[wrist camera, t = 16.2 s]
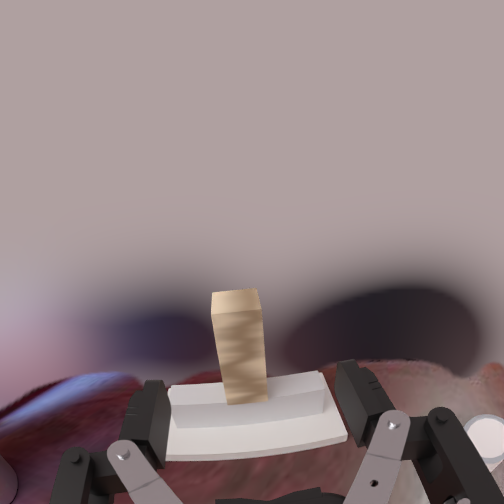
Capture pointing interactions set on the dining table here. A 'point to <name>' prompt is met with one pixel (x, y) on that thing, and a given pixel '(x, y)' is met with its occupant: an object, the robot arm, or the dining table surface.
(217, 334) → the maple block
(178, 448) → the ridge stand
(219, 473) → the dining table surface
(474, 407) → the dining table surface
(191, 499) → the dining table surface
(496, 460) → the white cylinder
